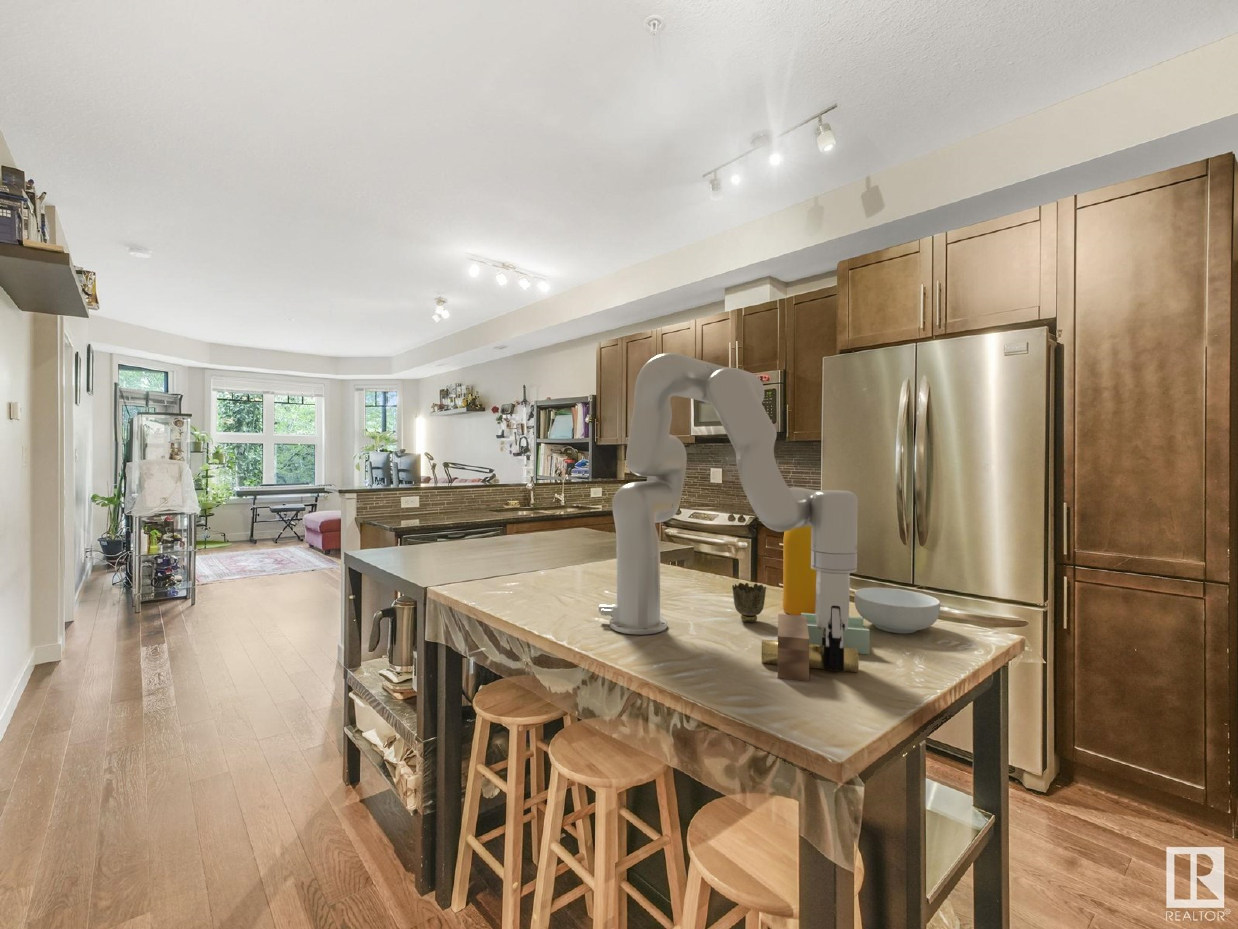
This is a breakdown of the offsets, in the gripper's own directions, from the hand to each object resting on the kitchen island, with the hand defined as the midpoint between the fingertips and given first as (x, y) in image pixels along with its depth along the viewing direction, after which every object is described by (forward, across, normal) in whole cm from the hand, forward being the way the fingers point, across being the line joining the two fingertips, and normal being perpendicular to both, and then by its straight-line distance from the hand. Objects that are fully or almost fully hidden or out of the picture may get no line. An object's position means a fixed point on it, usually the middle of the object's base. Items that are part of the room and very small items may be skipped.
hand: (832, 663), depth 98 cm
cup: (+1, -25, -16) cm, 30 cm away
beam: (+1, 0, -7) cm, 7 cm away
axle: (-1, 0, -4) cm, 4 cm away
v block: (+1, -14, +1) cm, 14 cm away
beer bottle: (+1, -36, -4) cm, 36 cm away
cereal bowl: (+1, -29, +15) cm, 33 cm away
